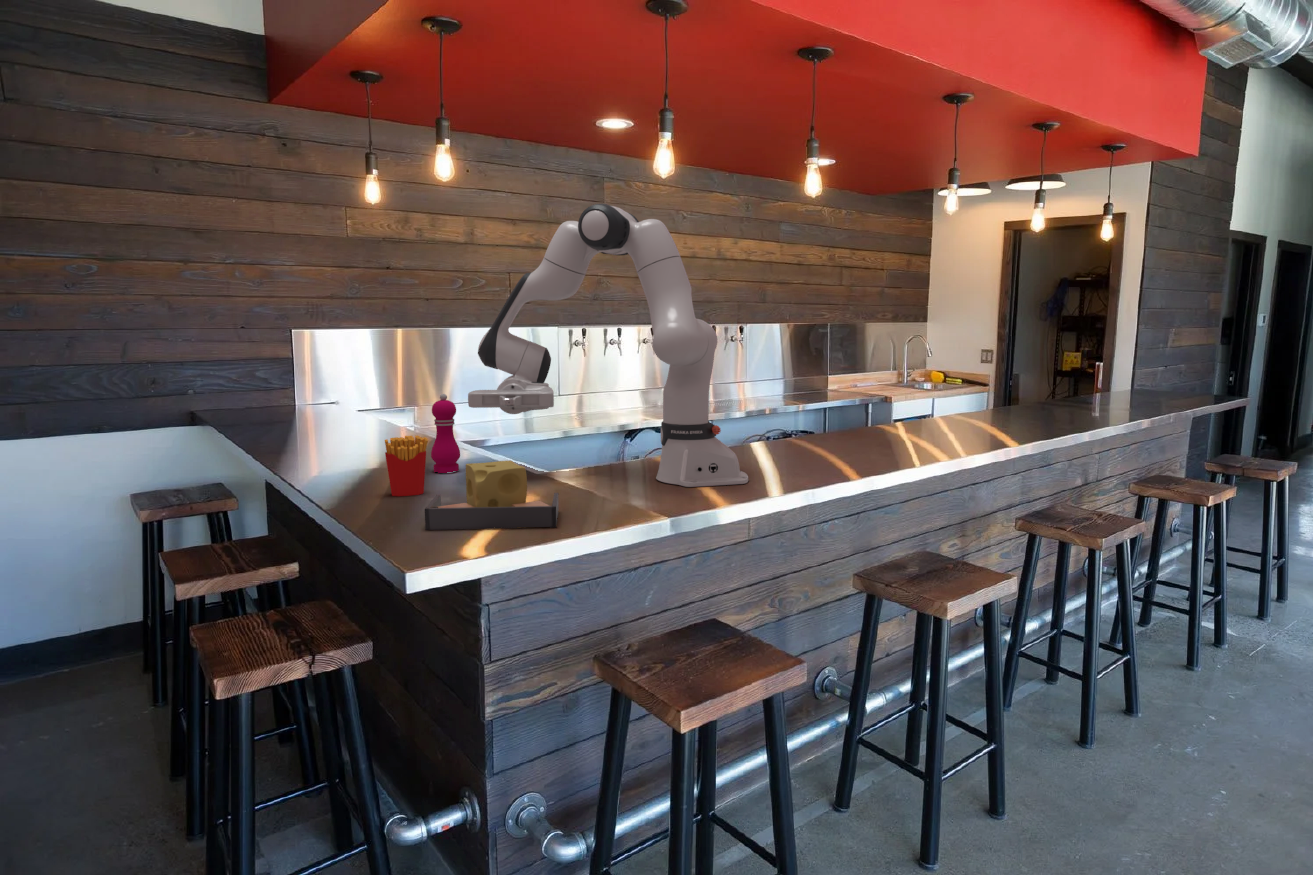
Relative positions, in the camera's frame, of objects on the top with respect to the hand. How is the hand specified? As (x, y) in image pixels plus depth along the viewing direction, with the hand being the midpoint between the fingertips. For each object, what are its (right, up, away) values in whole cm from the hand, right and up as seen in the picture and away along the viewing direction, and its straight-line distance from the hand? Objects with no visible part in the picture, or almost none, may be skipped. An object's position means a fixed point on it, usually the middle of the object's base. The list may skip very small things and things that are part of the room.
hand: (509, 402), depth 183 cm
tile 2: (+9, -25, -26) cm, 37 cm away
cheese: (+1, -24, -21) cm, 32 cm away
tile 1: (-5, -25, -28) cm, 38 cm away
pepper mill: (-20, -17, +20) cm, 33 cm away
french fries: (-22, -21, -5) cm, 31 cm away
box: (+2, -24, -27) cm, 37 cm away
